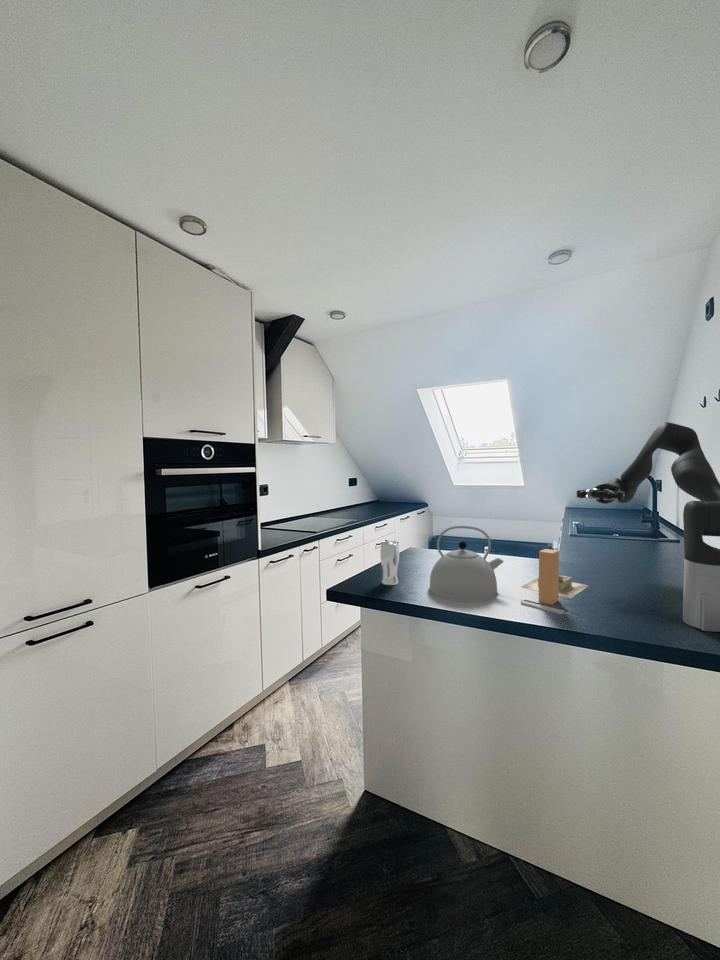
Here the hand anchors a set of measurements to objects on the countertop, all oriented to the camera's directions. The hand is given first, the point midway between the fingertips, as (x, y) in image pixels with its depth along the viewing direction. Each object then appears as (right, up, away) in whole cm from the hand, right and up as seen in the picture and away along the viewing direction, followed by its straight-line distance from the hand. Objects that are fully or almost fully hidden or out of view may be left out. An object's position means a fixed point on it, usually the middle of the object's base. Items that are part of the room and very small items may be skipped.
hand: (594, 495), depth 135 cm
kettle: (-45, -33, -2) cm, 56 cm away
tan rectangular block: (-24, -32, -16) cm, 43 cm away
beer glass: (-71, -33, +7) cm, 79 cm away
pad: (-24, -33, -16) cm, 43 cm away
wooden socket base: (-15, -32, -2) cm, 35 cm away
